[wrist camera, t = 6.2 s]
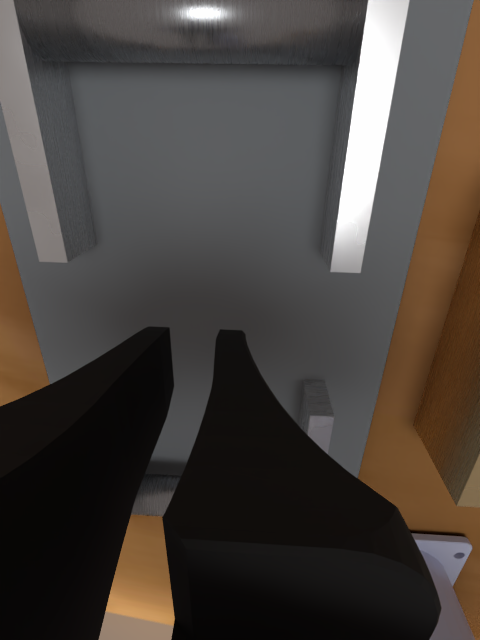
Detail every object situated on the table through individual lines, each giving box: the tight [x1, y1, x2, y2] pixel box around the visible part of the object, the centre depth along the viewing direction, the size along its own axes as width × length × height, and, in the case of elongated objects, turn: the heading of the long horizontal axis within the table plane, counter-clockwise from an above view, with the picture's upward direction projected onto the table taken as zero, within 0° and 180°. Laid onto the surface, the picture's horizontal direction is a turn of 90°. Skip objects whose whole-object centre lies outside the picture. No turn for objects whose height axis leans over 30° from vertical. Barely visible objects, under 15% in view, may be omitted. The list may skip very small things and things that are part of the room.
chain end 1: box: [0, 0, 409, 273], centre depth 9 cm, size 7×9×2 cm
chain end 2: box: [131, 379, 334, 517], centre depth 14 cm, size 7×9×2 cm
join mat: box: [0, 0, 473, 478], centre depth 13 cm, size 22×13×1 cm, turn 179°
